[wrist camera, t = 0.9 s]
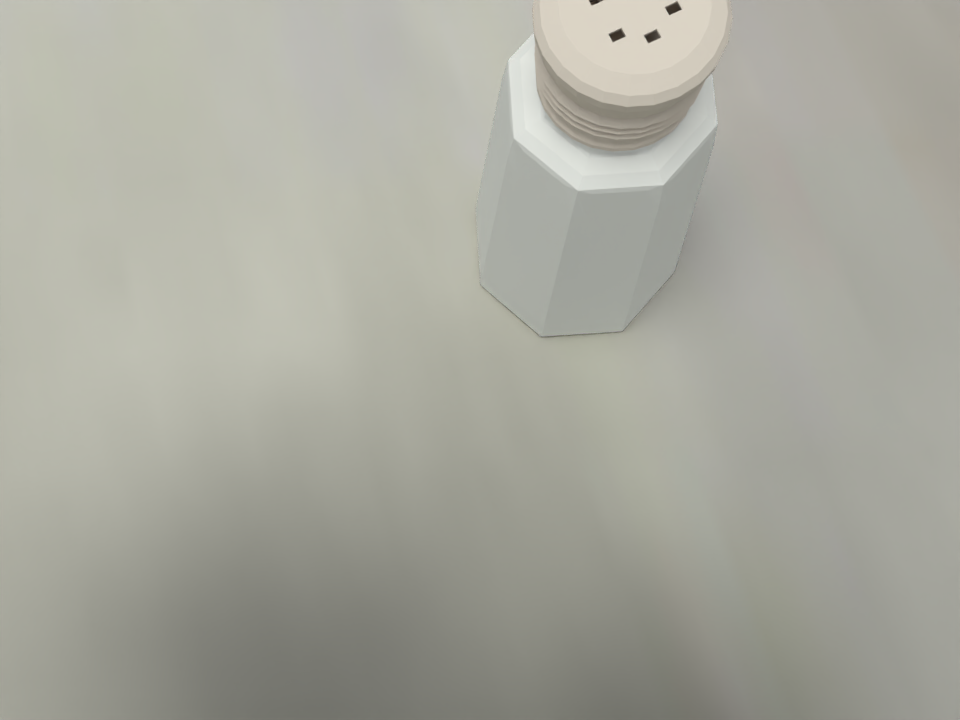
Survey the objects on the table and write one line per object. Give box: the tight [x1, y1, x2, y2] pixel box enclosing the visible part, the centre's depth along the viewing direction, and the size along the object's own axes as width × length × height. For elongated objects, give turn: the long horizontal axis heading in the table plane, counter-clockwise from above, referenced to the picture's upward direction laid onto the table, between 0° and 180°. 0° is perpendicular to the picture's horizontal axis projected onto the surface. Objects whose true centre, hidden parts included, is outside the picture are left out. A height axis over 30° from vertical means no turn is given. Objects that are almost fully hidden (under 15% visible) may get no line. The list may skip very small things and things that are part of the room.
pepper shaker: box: [476, 0, 733, 337], centre depth 18 cm, size 5×5×11 cm
